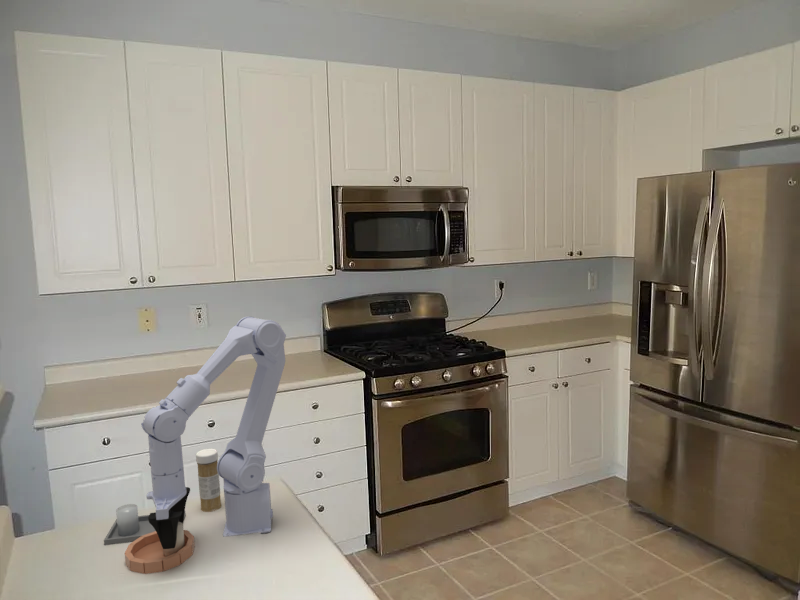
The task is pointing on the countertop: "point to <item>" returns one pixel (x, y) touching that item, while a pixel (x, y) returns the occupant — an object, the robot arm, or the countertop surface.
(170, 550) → the cream rounded cylinder
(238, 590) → the countertop surface
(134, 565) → the bowl
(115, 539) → the tray
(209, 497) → the sprinkles bottle
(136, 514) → the grey rounded cylinder
